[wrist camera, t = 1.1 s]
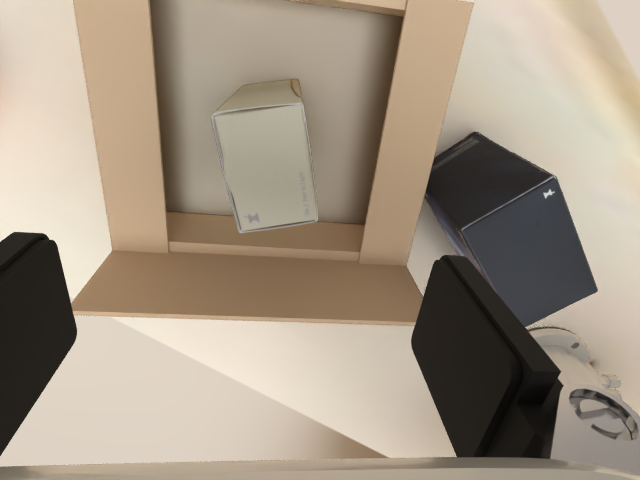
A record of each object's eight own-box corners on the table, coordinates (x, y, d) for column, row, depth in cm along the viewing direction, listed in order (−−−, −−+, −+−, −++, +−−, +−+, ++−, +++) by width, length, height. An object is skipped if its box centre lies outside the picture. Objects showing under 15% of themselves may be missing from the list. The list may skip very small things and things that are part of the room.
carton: (439, 7, 26) (544, -9, 16) (388, 237, 35) (435, 326, 24) (106, -41, 24) (-35, -100, 13) (137, 221, 32) (66, 314, 21)
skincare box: (308, 159, 31) (323, 226, 20) (253, 166, 31) (238, 238, 20) (298, 74, 28) (308, 100, 17) (236, 82, 28) (207, 113, 17)
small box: (405, 174, 32) (456, 230, 23) (476, 128, 31) (560, 168, 22) (457, 260, 37) (516, 336, 27) (520, 223, 35) (605, 290, 26)
